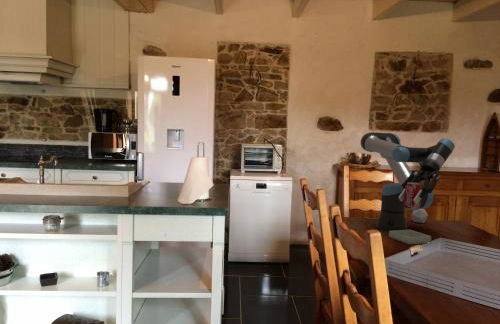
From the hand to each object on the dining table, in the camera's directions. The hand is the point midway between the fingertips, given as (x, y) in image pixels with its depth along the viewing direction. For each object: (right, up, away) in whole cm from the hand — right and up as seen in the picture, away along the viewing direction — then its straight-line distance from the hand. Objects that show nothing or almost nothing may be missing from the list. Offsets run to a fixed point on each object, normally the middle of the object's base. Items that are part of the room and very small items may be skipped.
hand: (407, 200), depth 174 cm
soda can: (+3, -4, +2) cm, 6 cm away
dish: (+2, -18, +3) cm, 19 cm away
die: (+25, -17, +45) cm, 54 cm away
